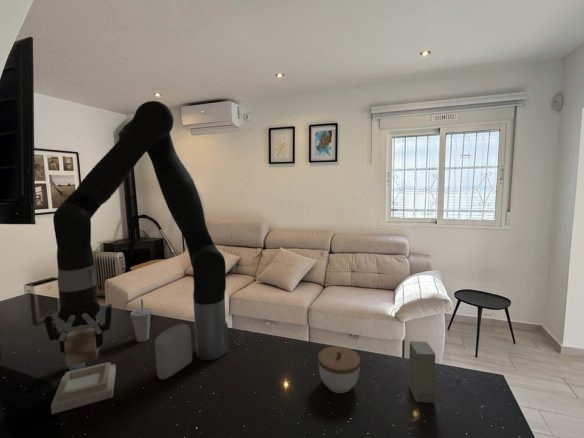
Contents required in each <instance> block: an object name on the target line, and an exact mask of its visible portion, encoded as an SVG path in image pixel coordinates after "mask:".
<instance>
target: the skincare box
mask: <svg viewBox="0 0 584 438" xmlns="http://www.w3.org/2000/svg"><path fill="white" fill-rule="evenodd" d="M408 368H409V371H408V373H409V374H408V375H409V376H408V384H409V385H408V387H409V389H410V392H411V393H412V396H413V398H414V400H415V402H416V403H428V404H429V403H430V404H431V403H432V404H433V403H435V379H436V377H435V376H436V373H435V372H436V353H435V351H434V350H433V349H432V348H431V346H430V345H429V343H428V342H427V341H414V340H413V341H409V364H408Z"/></svg>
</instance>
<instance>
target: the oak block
mask: <svg viewBox="0 0 584 438" xmlns="http://www.w3.org/2000/svg"><path fill="white" fill-rule="evenodd" d="M95 335H96V332H95V331H94V329H93V328H91V327H88V328H83V329H79V330H78V329H77V330H72V331H69V332H68V334H67V338H66V340H65V342H64V347H65V355H64V357H65V365H66V367H67V368H68V366H71V365H76V364H80V363H84V362H85V363H88V362H92V361H96V360H97V359H98V358H97V357H98V355H99V351H100V348H97V347H96V336H95Z"/></svg>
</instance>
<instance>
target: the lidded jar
mask: <svg viewBox="0 0 584 438" xmlns="http://www.w3.org/2000/svg"><path fill="white" fill-rule="evenodd" d="M317 362H318V372H319V376H320V378H321V381H322V382H323V384H324V385H325V386H326V387H327V388H328V390H329V391H331V392H333V393H335V394H345V393H347V392H350V390H351V389H352V388H354V387H355V386H356V384H357V382H358V380H359V377H360V369H361V357H360V355H359V354H358V353H357V352H356V351H354V350H353V349H351V348H348V347H345V346H334V345H333V346H328V347H325V348H324V349H322V350H320V352H319V353H318V355H317Z"/></svg>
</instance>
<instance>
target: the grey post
mask: <svg viewBox="0 0 584 438" xmlns="http://www.w3.org/2000/svg"><path fill="white" fill-rule="evenodd" d="M86 363H87V362H84V363H80V364H76V365H71V366H67V368H68V372H69V371H73V370H77V369H82V368H86Z"/></svg>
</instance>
